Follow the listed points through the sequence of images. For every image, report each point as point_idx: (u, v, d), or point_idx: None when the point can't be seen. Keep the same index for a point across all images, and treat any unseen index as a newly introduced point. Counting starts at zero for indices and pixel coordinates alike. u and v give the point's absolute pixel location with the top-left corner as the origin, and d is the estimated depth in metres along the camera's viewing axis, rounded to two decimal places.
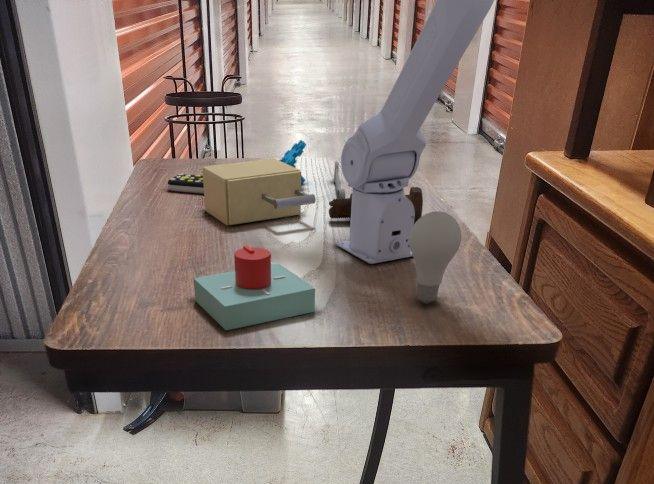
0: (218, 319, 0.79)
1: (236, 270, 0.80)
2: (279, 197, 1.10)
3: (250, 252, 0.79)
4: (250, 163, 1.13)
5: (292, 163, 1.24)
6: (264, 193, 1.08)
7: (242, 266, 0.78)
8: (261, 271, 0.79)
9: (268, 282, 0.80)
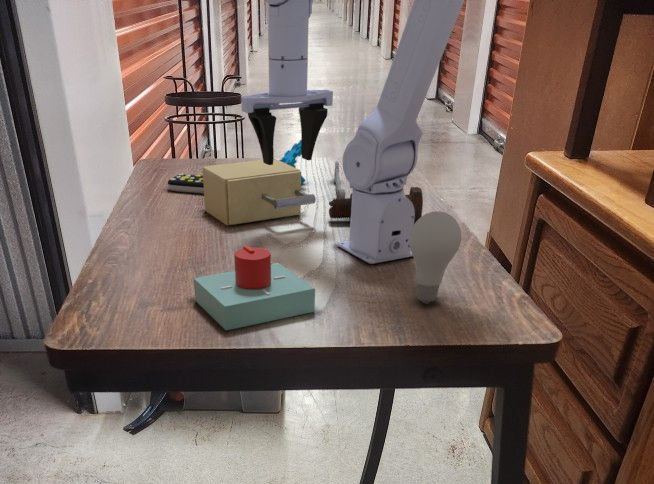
0: (218, 319, 0.79)
1: (236, 270, 0.80)
2: (279, 197, 1.10)
3: (250, 252, 0.79)
4: (250, 163, 1.13)
5: (292, 163, 1.24)
6: (264, 193, 1.08)
7: (242, 266, 0.78)
8: (261, 271, 0.79)
9: (268, 282, 0.80)
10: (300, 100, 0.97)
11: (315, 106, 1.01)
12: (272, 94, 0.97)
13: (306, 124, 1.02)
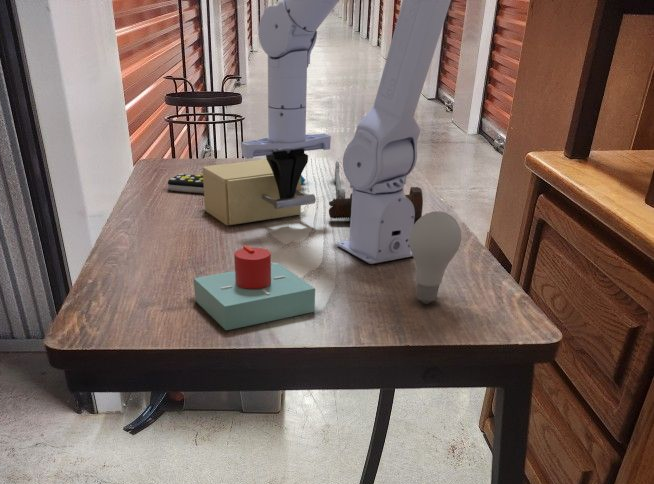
0: (218, 319, 0.79)
1: (236, 270, 0.80)
2: (279, 197, 1.10)
3: (250, 252, 0.79)
4: (250, 163, 1.13)
5: None
6: (264, 193, 1.08)
7: (242, 266, 0.78)
8: (261, 271, 0.79)
9: (268, 282, 0.80)
10: (299, 146, 1.00)
11: (296, 152, 1.03)
12: (271, 140, 1.00)
13: None
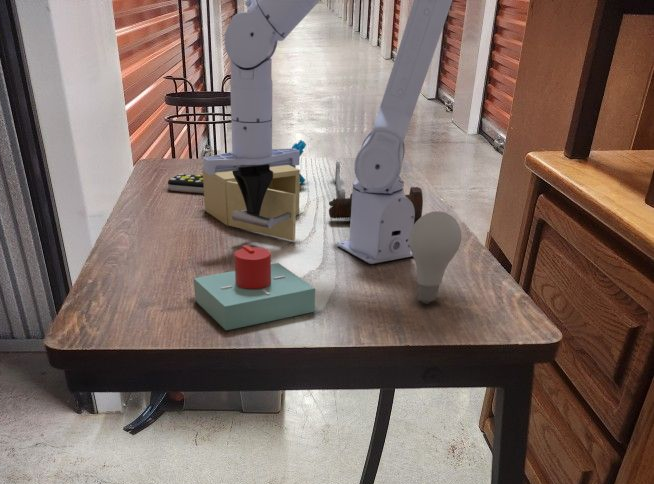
0: (218, 319, 0.79)
1: (236, 270, 0.80)
2: (272, 214, 1.02)
3: (250, 252, 0.79)
4: None
5: None
6: None
7: (242, 266, 0.78)
8: (261, 271, 0.79)
9: (268, 282, 0.80)
10: (264, 162, 0.93)
11: (260, 168, 0.96)
12: (235, 155, 0.93)
13: None
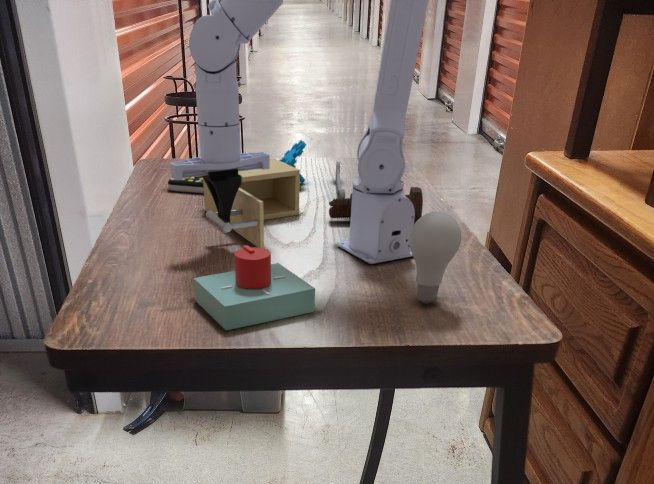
0: (218, 319, 0.79)
1: (236, 270, 0.80)
2: (249, 220, 1.00)
3: (250, 252, 0.79)
4: None
5: (292, 163, 1.24)
6: (240, 208, 1.01)
7: (242, 266, 0.78)
8: (261, 271, 0.79)
9: (268, 282, 0.80)
10: (232, 166, 0.92)
11: (229, 173, 0.94)
12: (203, 160, 0.92)
13: None
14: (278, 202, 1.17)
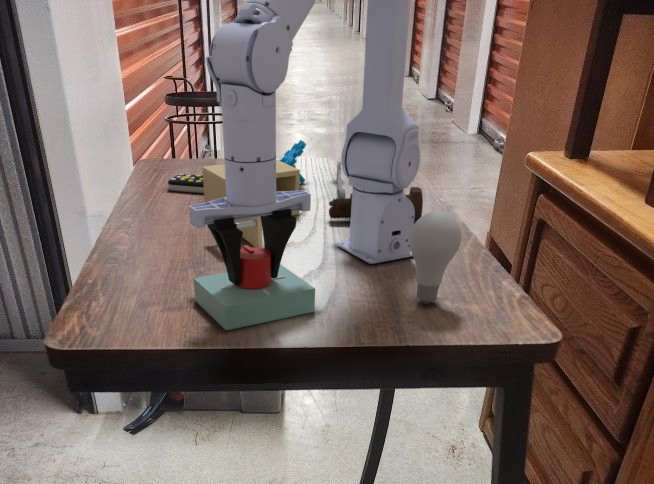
0: (218, 319, 0.79)
1: None
2: (247, 220, 1.00)
3: (250, 252, 0.79)
4: None
5: (292, 163, 1.24)
6: None
7: (242, 266, 0.78)
8: (261, 271, 0.79)
9: (268, 282, 0.80)
10: (267, 210, 0.74)
11: (280, 214, 0.77)
12: (230, 202, 0.74)
13: (270, 235, 0.79)
14: None
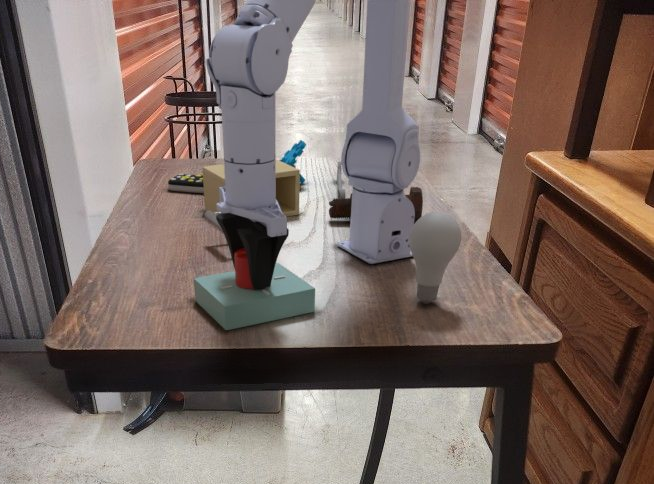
0: (218, 319, 0.79)
1: None
2: None
3: None
4: None
5: (292, 163, 1.24)
6: None
7: None
8: None
9: None
10: None
11: None
12: (265, 205, 0.74)
13: None
14: (278, 202, 1.17)
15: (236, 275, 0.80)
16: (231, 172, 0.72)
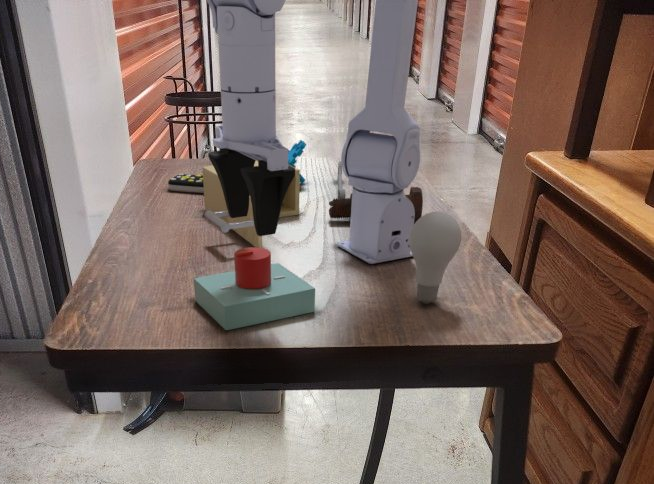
0: (218, 319, 0.79)
1: (260, 273, 0.79)
2: (247, 220, 1.00)
3: (251, 253, 0.79)
4: None
5: (292, 163, 1.24)
6: None
7: (268, 264, 0.79)
8: None
9: None
10: None
11: None
12: (264, 139, 0.70)
13: (237, 173, 0.77)
14: None
15: (236, 275, 0.80)
16: (228, 103, 0.68)
